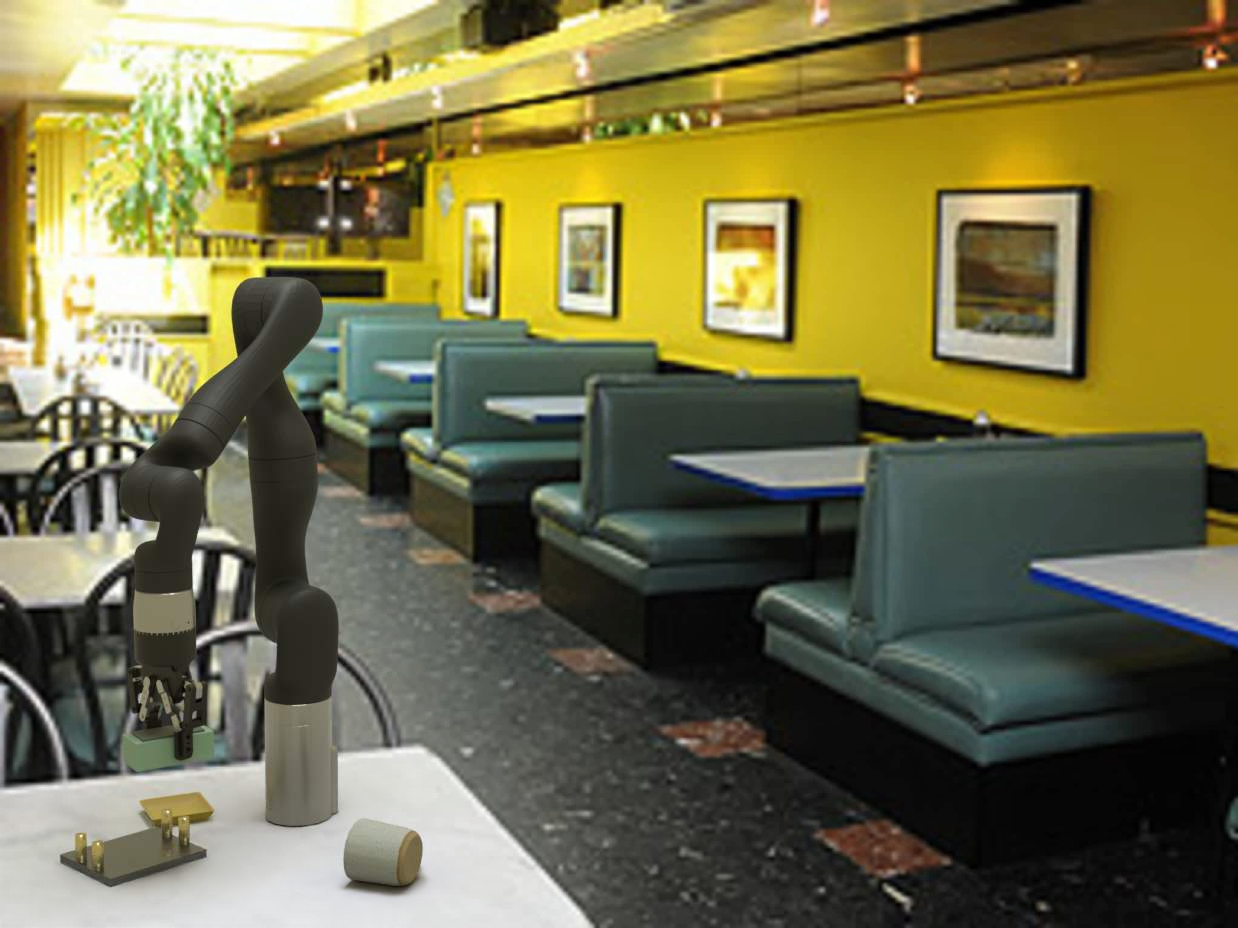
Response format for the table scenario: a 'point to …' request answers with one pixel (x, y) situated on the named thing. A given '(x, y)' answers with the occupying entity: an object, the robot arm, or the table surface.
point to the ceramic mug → (382, 853)
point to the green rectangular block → (163, 747)
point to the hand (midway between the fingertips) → (168, 753)
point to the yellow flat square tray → (178, 807)
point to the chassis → (135, 852)
